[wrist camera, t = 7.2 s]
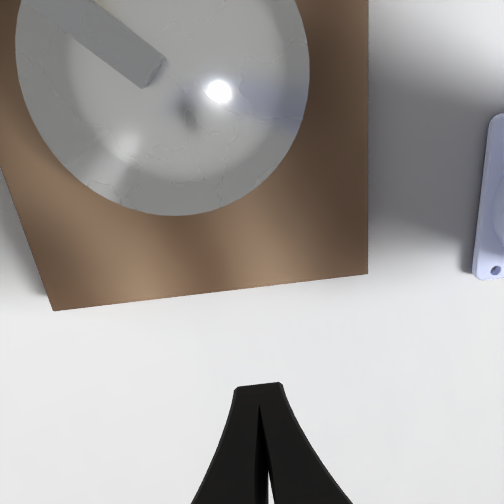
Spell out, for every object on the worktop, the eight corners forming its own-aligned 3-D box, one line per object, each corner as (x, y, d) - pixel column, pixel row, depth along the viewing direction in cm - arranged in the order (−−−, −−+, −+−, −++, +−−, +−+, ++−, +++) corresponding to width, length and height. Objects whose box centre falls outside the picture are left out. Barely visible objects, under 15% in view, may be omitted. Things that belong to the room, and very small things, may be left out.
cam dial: (358, 50, 16) (413, 49, 11) (204, 247, 19) (194, 313, 14) (-27, -308, 12) (-209, -562, 7) (-144, 18, 15) (-328, 1, 10)
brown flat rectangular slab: (357, -281, 13) (375, -327, 12) (360, 262, 21) (371, 280, 20) (-118, -220, 14) (-165, -257, 12) (62, 298, 22) (48, 318, 20)
